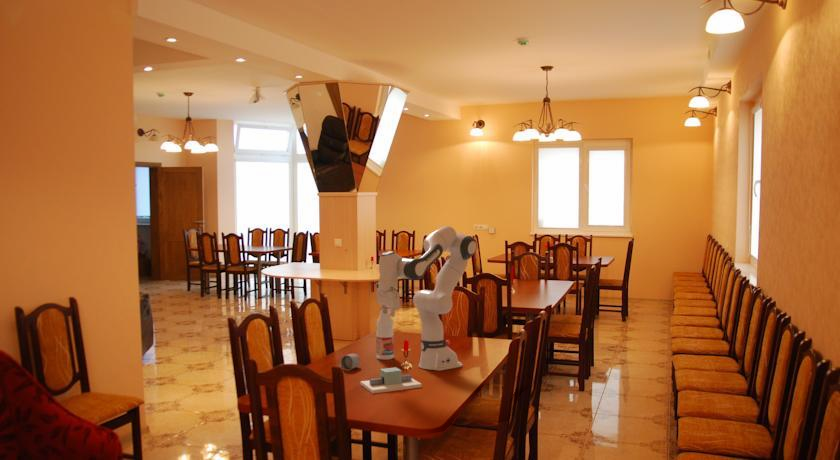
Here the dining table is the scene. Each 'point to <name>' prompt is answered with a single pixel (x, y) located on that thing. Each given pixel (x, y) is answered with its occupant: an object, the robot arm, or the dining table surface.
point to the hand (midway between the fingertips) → (388, 315)
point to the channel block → (391, 375)
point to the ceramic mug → (349, 361)
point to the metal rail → (381, 380)
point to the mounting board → (390, 386)
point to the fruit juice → (384, 336)
